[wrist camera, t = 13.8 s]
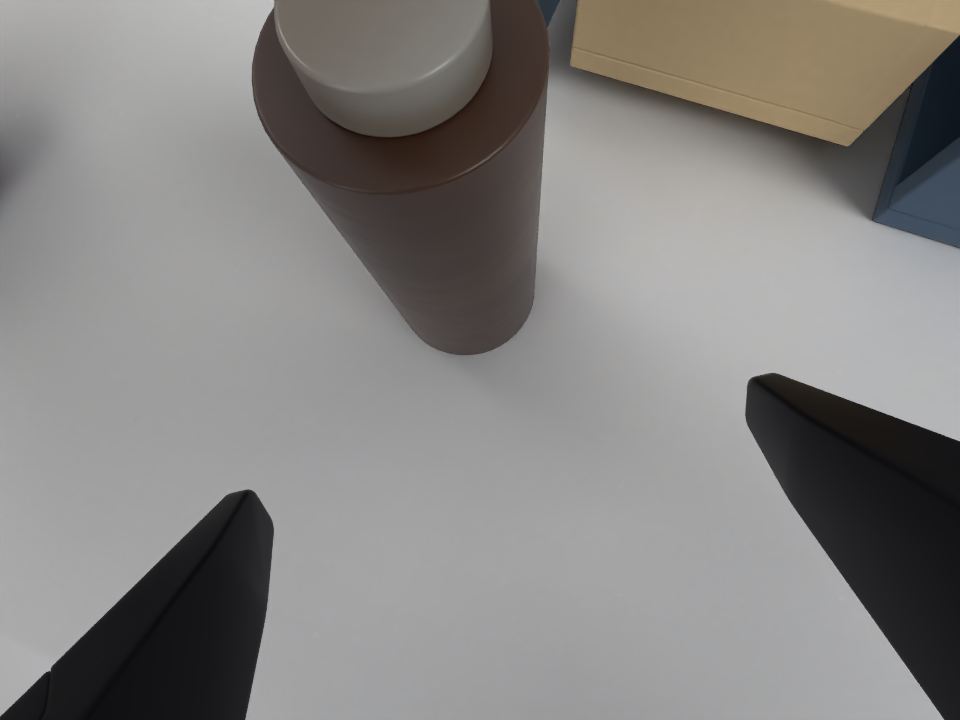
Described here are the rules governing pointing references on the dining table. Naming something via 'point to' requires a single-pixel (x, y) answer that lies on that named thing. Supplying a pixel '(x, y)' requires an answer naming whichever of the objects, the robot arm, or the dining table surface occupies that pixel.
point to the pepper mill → (419, 147)
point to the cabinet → (927, 156)
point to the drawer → (768, 54)
